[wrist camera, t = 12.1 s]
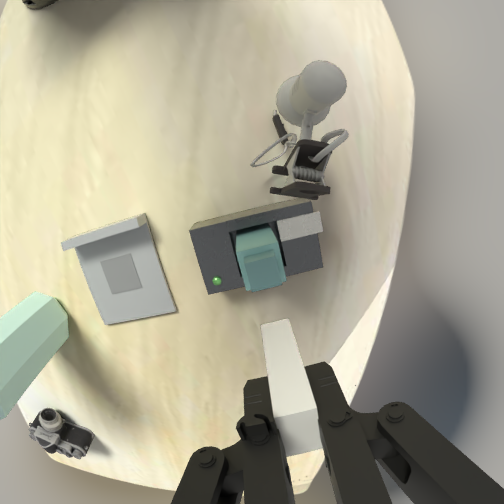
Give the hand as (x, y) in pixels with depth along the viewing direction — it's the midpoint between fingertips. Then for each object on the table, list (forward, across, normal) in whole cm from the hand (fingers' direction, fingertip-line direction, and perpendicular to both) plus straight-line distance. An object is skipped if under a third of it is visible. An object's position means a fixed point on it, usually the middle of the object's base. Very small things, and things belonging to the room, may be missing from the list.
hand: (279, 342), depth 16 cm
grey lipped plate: (+24, -19, 0) cm, 30 cm away
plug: (+23, 0, 0) cm, 23 cm away
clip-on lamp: (+24, +6, +11) cm, 27 cm away
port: (+24, 0, 0) cm, 24 cm away
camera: (+24, -50, -28) cm, 62 cm away
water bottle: (+24, -36, -4) cm, 43 cm away
